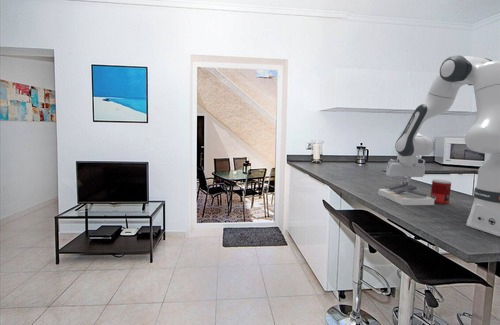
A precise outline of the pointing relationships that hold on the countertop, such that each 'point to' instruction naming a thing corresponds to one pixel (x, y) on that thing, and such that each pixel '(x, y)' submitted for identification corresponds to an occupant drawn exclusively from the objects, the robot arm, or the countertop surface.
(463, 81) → the robot arm
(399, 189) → the middle rocker
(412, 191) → the near rocker
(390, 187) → the far rocker
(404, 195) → the switch unit
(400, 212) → the countertop surface
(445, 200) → the canned food
